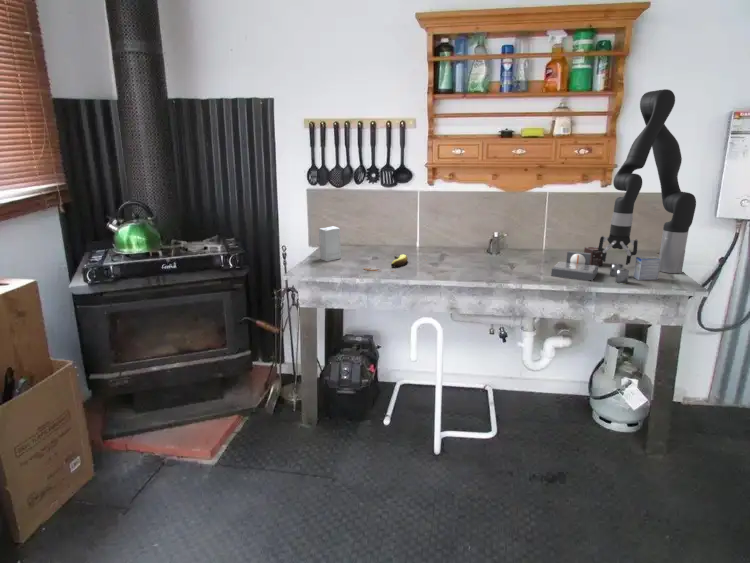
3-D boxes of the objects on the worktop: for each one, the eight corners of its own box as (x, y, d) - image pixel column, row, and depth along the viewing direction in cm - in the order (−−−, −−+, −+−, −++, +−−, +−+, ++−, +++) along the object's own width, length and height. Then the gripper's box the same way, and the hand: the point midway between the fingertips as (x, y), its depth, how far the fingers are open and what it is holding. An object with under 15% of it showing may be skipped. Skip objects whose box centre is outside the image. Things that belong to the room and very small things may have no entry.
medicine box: (652, 277, 214) (655, 256, 212) (658, 280, 210) (661, 259, 208) (632, 277, 214) (635, 256, 212) (638, 280, 210) (641, 259, 207)
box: (590, 266, 231) (592, 250, 228) (582, 263, 236) (584, 247, 234) (602, 265, 232) (604, 249, 230) (593, 262, 238) (595, 246, 236)
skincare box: (334, 256, 250) (333, 225, 246) (341, 259, 245) (340, 227, 241) (319, 259, 245) (318, 227, 241) (326, 261, 241) (325, 229, 236)
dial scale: (597, 272, 221) (599, 254, 218) (592, 281, 209) (594, 261, 207) (558, 268, 228) (559, 250, 226) (551, 275, 216) (553, 257, 214)
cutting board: (419, 276, 218) (420, 267, 217) (357, 272, 226) (357, 263, 225) (435, 257, 251) (435, 249, 249) (380, 253, 258) (380, 245, 257)
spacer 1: (621, 275, 217) (623, 263, 216) (620, 277, 213) (622, 265, 212) (610, 273, 219) (611, 262, 218) (609, 276, 216) (610, 264, 214)
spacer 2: (627, 281, 208) (629, 269, 207) (626, 284, 205) (628, 272, 203) (615, 280, 210) (617, 268, 209) (614, 282, 207) (616, 270, 205)
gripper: (641, 224, 210) (635, 263, 215) (603, 220, 217) (598, 258, 222) (640, 227, 204) (633, 267, 209) (600, 223, 211) (595, 262, 215)
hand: (615, 263), depth 215 cm, fingers open, 8 cm apart
